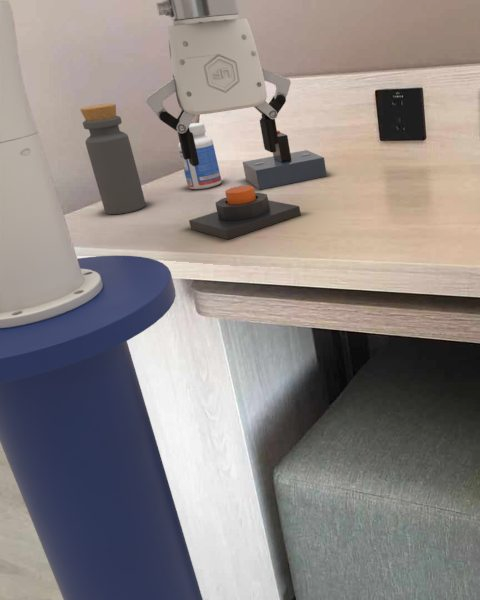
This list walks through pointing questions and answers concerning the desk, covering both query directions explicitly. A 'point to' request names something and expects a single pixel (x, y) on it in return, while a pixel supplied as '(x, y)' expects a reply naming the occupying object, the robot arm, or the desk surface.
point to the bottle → (112, 160)
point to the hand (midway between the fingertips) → (233, 157)
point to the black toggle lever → (282, 148)
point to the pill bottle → (201, 161)
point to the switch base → (243, 217)
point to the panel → (284, 170)
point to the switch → (240, 194)
